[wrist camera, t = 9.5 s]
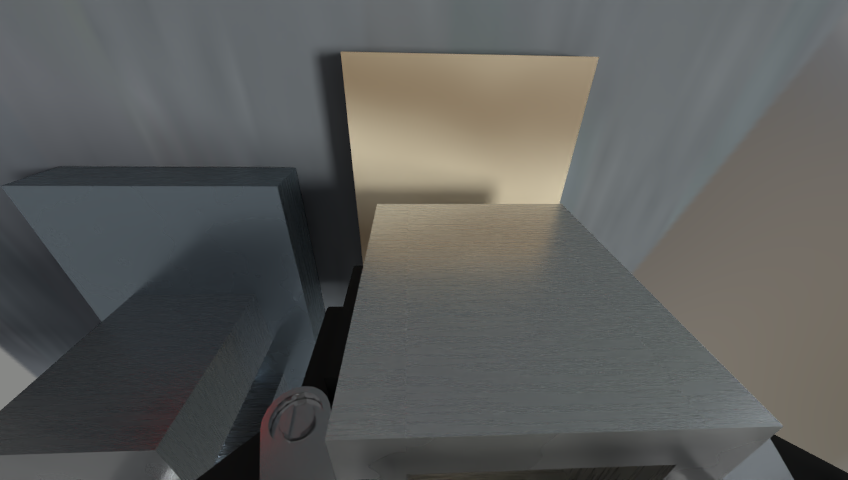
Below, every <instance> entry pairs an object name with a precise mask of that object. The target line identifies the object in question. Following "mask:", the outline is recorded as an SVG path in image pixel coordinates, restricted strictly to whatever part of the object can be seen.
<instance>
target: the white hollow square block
mask: <svg viewBox="0 0 848 480" xmlns="http://www.w3.org/2000/svg"><path fill="white" fill-rule="evenodd" d="M782 427H783V425H782V424H781V423H780V422H779V421H778V420H777V419H776V418H775V417H774V416H773V415H772V414H771V413H770V412H769V411H768V410H767V409H766V408H765V407H764V406H763V405H762V404H761V403H760V402H759V401H758V400H757V399H756V398H755V397H754V396H753V395H752V394H751V393H750V392H749V391H748V390H747V389H746V388H745V387H744V386H743V385H742V384H741V383H740V382H739V381H738V380H737V379H736V378H735V377H734V376H733V375H732V374H731V373H730V372H729V371H728V370H727V369H726V368H725V367H724V366H723V365H722V364H721V363H720V362H719V361H718V360H717V359H716V358H715V357H714V356H713V355H712V354H711V353H710V352H709V351H708V350H707V349H706V348H705V347H704V346H703V345H702V344H701V343H700V342H699V341H698V340H697V339H696V338H695V337H694V336H693V335H692V334H691V333H690V332H689V331H688V330H687V329H686V328H685V327H684V326H683V325H682V324H681V323H680V322H679V321H678V320H677V319H676V318H675V317H674V316H673V315H672V314H671V313H670V312H669V311H668V310H667V309H666V308H665V307H664V306H663V305H662V304H661V303H660V302H659V301H658V300H657V299H656V298H655V297H654V296H653V295H652V294H651V293H650V292H649V291H648V290H647V289H646V288H645V287H644V286H643V285H642V284H641V283H640V282H639V281H638V280H637V279H636V278H635V277H634V276H633V275H632V274H631V273H630V272H629V271H628V270H627V269H626V268H625V267H624V266H623V265H622V264H621V263H620V262H619V261H618V260H617V259H616V258H615V257H614V256H613V255H612V254H611V253H610V252H609V251H608V250H607V249H606V248H605V247H604V246H603V245H602V244H601V243H600V242H599V241H598V240H597V239H596V238H595V237H594V236H593V235H592V234H591V233H590V232H589V231H588V230H587V229H586V228H585V227H584V226H583V225H582V224H581V223H580V222H579V221H578V220H577V219H576V218H575V217H574V216H573V215H572V214H571V213H570V212H569V211H568V210H567V209H566V208H565V207H564V206H563V205H562V204H377V207H376V211H375V216H374V220H373V225H372V229H371V234H370V238H369V243H368V247H367V252H366V256H365V261H364V265H363V270H362V274H361V279H360V283H359V288H358V293H357V297H356V302H355V306H354V311H353V315H352V320H351V324H350V329H349V333H348V338H347V342H346V347H345V351H344V356H343V360H342V365H341V369H340V374H339V378H338V383H337V387H336V392H335V396H334V401H333V406H332V410H331V415H330V419H329V424H328V428H327V433H326V437H325V443H326V446H327V450H328V453H329V457H330V460H331V463H332V467H333V470H334V474H335V477H336V480H722V479H723V478H724V477H725V476H726V475H727V474H729V473H730V472H731V471H732V470H733V469H734V468H736V467H737V466H738V465H739V464H740V463H741V462H743V461H744V460H745V459H746V458H747V457H748V456H750V455H751V454H752V453H753V452H754V451H755V450H757V449H758V448H759V447H760V446H761V445H762V444H764V443H765V442H766V441H767V440H768V439H769V438H771V437H772V436H773V435H774V434H775V433H776V432H778V431H779V430H780V429H781V428H782Z"/></svg>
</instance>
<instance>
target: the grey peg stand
mask: <svg viewBox="0 0 848 480" xmlns="http://www.w3.org/2000/svg"><path fill="white" fill-rule="evenodd" d="M1 187H2V188H3V189H4V191H5V192H6V193H7V195H8V196H9V198H10V199H11V200H12V202H13V203H14V204H15V206H16V207H17V208H18V210H19V211H20V212H21V214H22V215H23V216H24V218H25V219H26V220H27V222H28V223H29V224H30V226H31V227H32V229H33V230H34V231H35V233H36V234H37V235H38V237H39V238H40V239H41V241H42V242H43V243H44V245H45V246H46V247H47V249H48V250H49V251H50V253H51V254H52V255H53V257H54V258H55V260H56V261H57V262H58V264H59V265H60V266H61V268H62V269H63V270H64V272H65V273H66V274H67V276H68V277H69V278H70V280H71V281H72V282H73V284H74V285H75V286H76V288H77V289H78V291H79V292H80V293H81V295H82V296H83V297H84V299H85V300H86V301H87V303H88V304H89V305H90V307H91V308H92V309H93V311H94V312H95V313H96V315H97V316H98V317H99V319H100V320H101V323H100V324H99V325H98V326H97V327H95V328H94V329H93V330H92V331H91V332H90V333H89V334H87V335H86V336H85V337H84V338H83V339H82V340H81V341H79V342H78V343H77V344H76V345H75V346H74V347H73V348H71V349H70V350H69V351H68V352H67V353H66V354H65V355H63V356H62V357H61V358H60V359H59V360H58V361H57V362H55V363H54V364H53V365H52V366H51V367H50V368H49V369H47V370H46V371H45V372H44V373H43V374H42V375H41V376H39V377H38V378H37V379H36V380H35V381H34V382H33V383H31V384H30V385H29V386H28V387H27V388H26V389H25V390H23V391H22V392H21V393H20V394H19V395H18V396H17V397H15V398H14V399H13V400H12V401H11V402H10V403H9V404H7V405H6V406H5V407H4V408H3V409H2V410H1V411H0V480H196V479H197V478H199V477H200V476H201V475H203V474H204V473H205V472H207V471H208V470H209V469H211V468H212V467H213V466H215V465H216V464H217V463H218V462H220V461H221V460H222V459H224V458H225V457H226V456H228V455H229V454H230V453H232V452H233V451H234V450H236V449H237V448H238V447H240V446H241V445H242V444H244V443H245V442H246V441H248V440H249V439H250V438H252V437H253V436H254V435H256V434H257V433H258V432H260V429H261V423H262V419H263V417H264V415H265V413H266V411H267V409H268V408H269V406H270V405H271V404H272V403H273V402H274V401H275V400H276V399H277V398H278V397H280V396H281V395H282V394H283V393H285V392H287V391H289V390H291V389H294V388H298V387H301V386H302V383H303V380H304V377H305V374H306V371H307V368H308V365H309V362H310V359H311V355H312V352H313V349H314V346H315V343H316V340H317V337H318V334H319V331H320V328H321V325H322V322H323V319H324V316H325V308H324V303H323V299H322V294H321V289H320V284H319V279H318V274H317V269H316V265H315V260H314V255H313V250H312V245H311V240H310V235H309V231H308V226H307V221H306V216H305V211H304V206H303V201H302V196H301V192H300V187H299V182H298V177H297V172H296V168H222V167H57V168H54V169H51V170H48V171H45V172H42V173H39V174H36V175H33V176H30V177H27V178H24V179H21V180H17V181H14V182H11V183H8V184H5V185H2V186H1Z"/></svg>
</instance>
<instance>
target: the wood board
mask: <svg viewBox="0 0 848 480" xmlns="http://www.w3.org/2000/svg"><path fill="white" fill-rule="evenodd" d="M598 59H599V57H579V56H530V55H480V54H431V53H382V52H341V61H342V70H343V80H344V89H345V98H346V108H347V117H348V127H349V136H350V146H351V155H352V164H353V174H354V183H355V193H356V202H357V212H358V221H359V231H360V240H361V249H362V259H363V265H364V261H365V256H366V252H367V247H368V243H369V238H370V234H371V229H372V225H373V220H374V216H375V211H376V207H377V204H559V203H560V199H561V195H562V192H563V188H564V184H565V181H566V177H567V173H568V170H569V166H570V162H571V158H572V155H573V151H574V147H575V144H576V140H577V136H578V133H579V129H580V125H581V121H582V118H583V114H584V110H585V107H586V103H587V99H588V96H589V92H590V88H591V84H592V81H593V77H594V73H595V70H596V66H597V62H598Z"/></svg>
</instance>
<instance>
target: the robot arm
mask: <svg viewBox="0 0 848 480" xmlns="http://www.w3.org/2000/svg"><path fill="white" fill-rule="evenodd" d="M362 270H363V266H354V268H353V272H352V275H351V279H350V283H349V287H348V290H347V294H346V298H345V302H344V305H343V307H328V308H327V310H326V313H325V316H324V319H323V322H322V325H321V328H320V331H319V334H318V337H317V340H316V343H315V346H314V349H313V352H312V355H311V359H310V362H309V365H308V368H307V371H306V374H305V377H304V380H303V383H302V386H301V387H298V388H294V389H291V390H289V391H287V392H285V393H283V394H282V395H281V396H280V397H278V398H277V399H276V400H275V401H274V402H273V403H272V404H271V405H270V406H269V408H268V409H267V411H266V413H265V415H264V417H263V419H262V423H261V429H260V432H258V433H257V434H256V435H254V436H253V437H252V438H250V439H249V440H248V441H246V442H245V443H244V444H242V445H241V446H240V447H238V448H237V449H236V450H234V451H233V452H232V453H230V454H229V455H228V456H226V457H225V458H224V459H222V460H221V461H220V462H218V463H217V464H216V465H215V466H213V467H212V468H211V469H209V470H208V471H207V472H205V473H204V474H203V475H201V476H200V477H199V478H197V479H196V480H336V477H335V474H334V470H333V467H332V463H331V460H330V457H329V453H328V450H327V446H326V443H325V437H326V433H327V428H328V424H329V419H330V415H331V410H332V406H333V401H334V396H335V392H336V387H337V383H338V378H339V374H340V369H341V365H342V360H343V356H344V351H345V347H346V342H347V338H348V333H349V329H350V324H351V320H352V315H353V311H354V306H355V302H356V297H357V293H358V288H359V283H360V279H361V274H362ZM722 480H848V473H847V472H845V471H843V470H841V469H839V468H837V467H835V466H833V465H831V464H829V463H827V462H825V461H824V460H822V459H820V458H818V457H816V456H814V455H812V454H810V453H808V452H807V451H805V450H803V449H801V448H799V447H797V446H795V445H793V444H791V443H789V442H787V441H785V440H784V439H781V438H780V437H778V436H776V435H773V436H772V437H771V438H769V439H768V440H767V441H766V442H765V443H764V444H762V445H761V446H760V447H759V448H758V449H757V450H755V451H754V452H753V453H752V454H751V455H750V456H748V457H747V458H746V459H745V460H744V461H743V462H741V463H740V464H739V465H738V466H737V467H736V468H734V469H733V470H732V471H731V472H730V473H729V474H727V475H726V476H725V477H724V478H723V479H722Z"/></svg>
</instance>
